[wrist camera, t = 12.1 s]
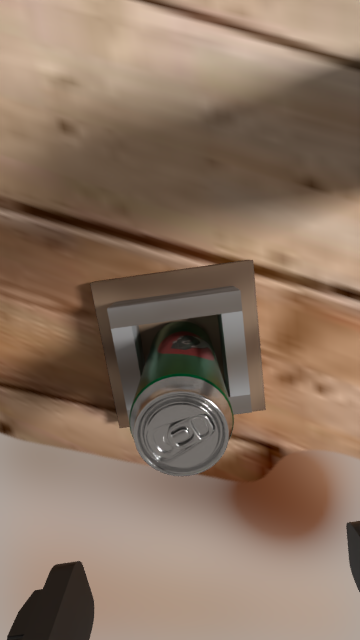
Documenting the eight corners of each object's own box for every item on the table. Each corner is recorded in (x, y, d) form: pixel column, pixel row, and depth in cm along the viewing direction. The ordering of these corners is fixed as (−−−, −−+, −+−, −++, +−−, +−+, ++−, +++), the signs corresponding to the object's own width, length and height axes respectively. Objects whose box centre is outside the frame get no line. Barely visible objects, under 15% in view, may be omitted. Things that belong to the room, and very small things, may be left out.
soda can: (140, 337, 25) (103, 415, 13) (194, 308, 24) (205, 364, 13) (170, 386, 26) (159, 500, 14) (222, 360, 25) (256, 456, 14)
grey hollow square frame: (95, 281, 25) (77, 287, 21) (248, 259, 25) (263, 261, 21) (122, 419, 28) (112, 449, 24) (261, 401, 28) (276, 429, 24)
